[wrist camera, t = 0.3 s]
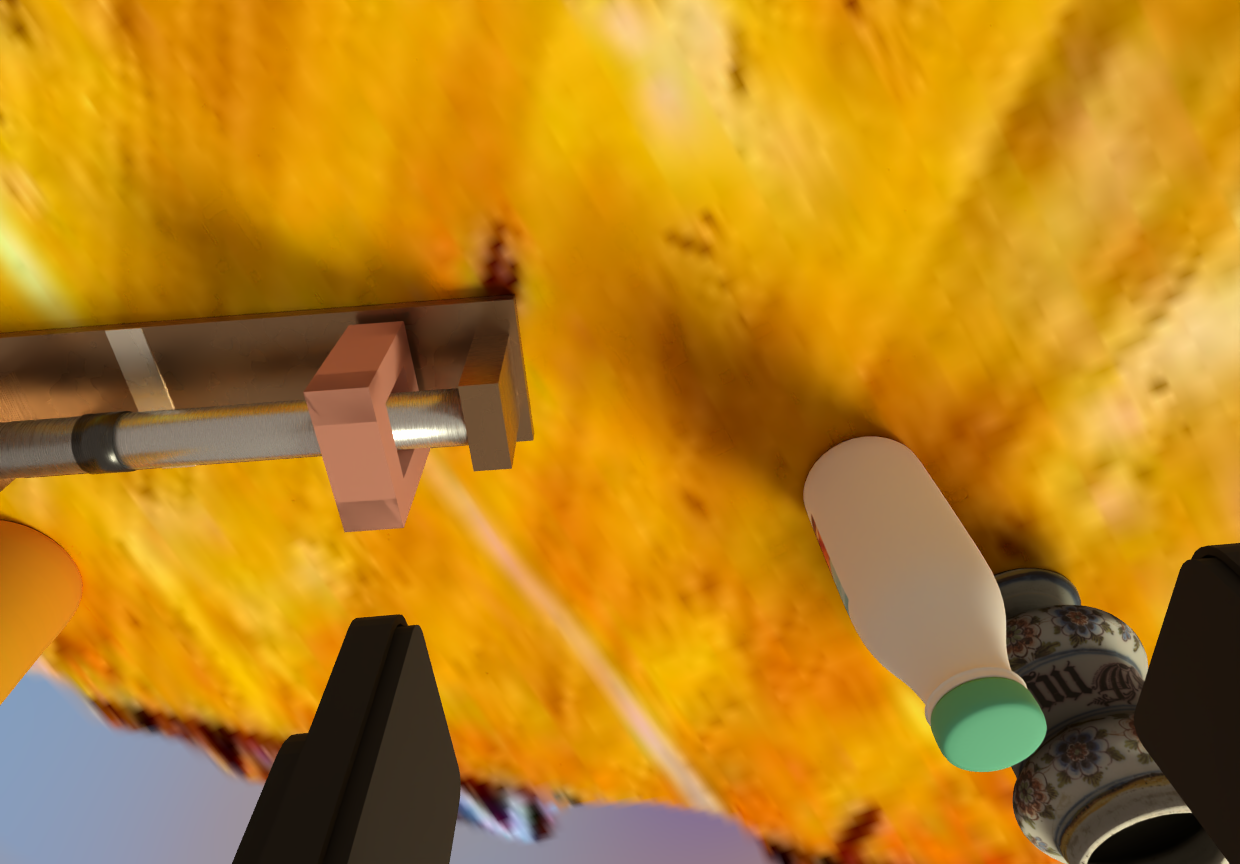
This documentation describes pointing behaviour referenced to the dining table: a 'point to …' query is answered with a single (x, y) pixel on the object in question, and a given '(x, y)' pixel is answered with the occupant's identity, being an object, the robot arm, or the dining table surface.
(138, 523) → the dining table surface
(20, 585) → the beer bottle
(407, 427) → the pipe rig
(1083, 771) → the apothecary jar
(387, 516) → the collar
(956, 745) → the milk bottle
